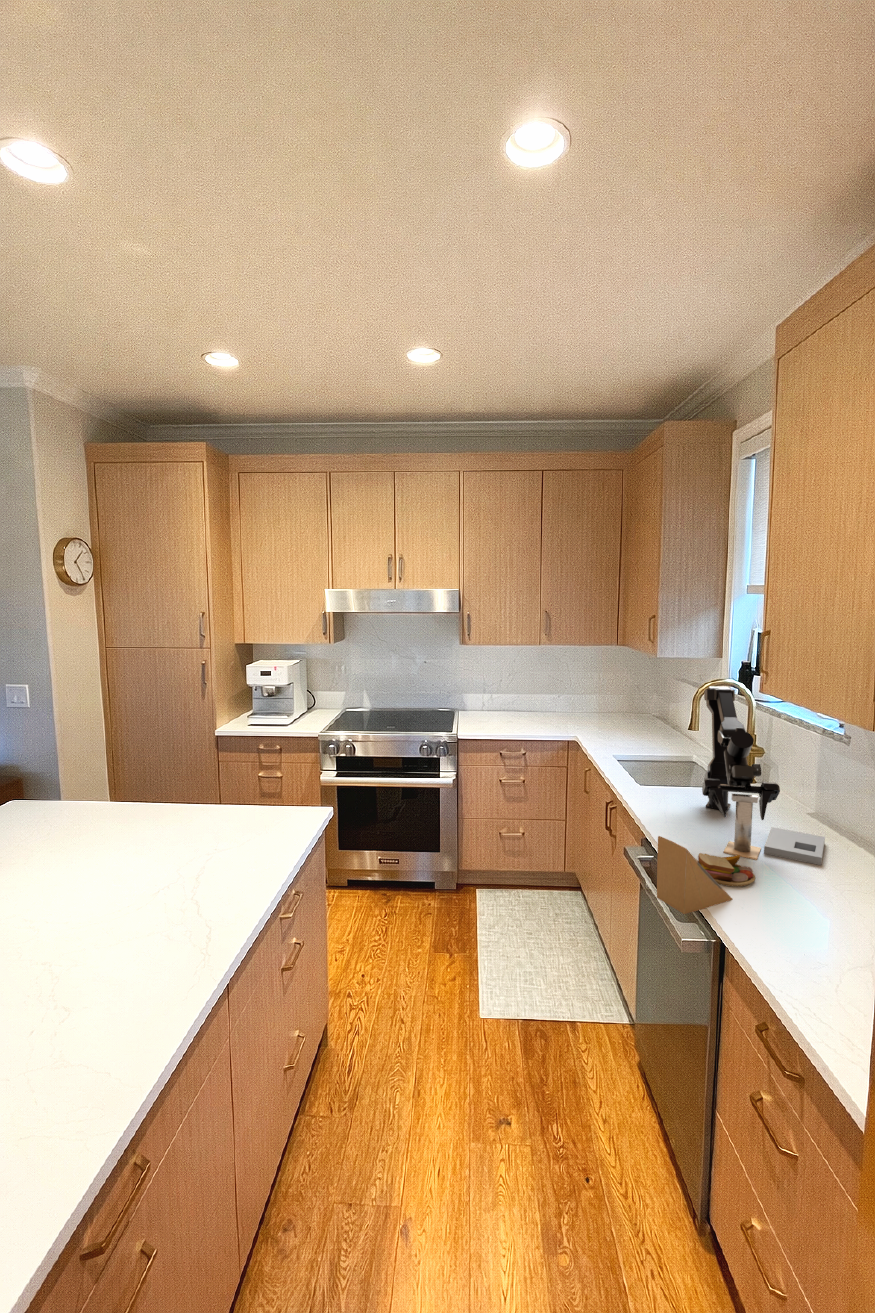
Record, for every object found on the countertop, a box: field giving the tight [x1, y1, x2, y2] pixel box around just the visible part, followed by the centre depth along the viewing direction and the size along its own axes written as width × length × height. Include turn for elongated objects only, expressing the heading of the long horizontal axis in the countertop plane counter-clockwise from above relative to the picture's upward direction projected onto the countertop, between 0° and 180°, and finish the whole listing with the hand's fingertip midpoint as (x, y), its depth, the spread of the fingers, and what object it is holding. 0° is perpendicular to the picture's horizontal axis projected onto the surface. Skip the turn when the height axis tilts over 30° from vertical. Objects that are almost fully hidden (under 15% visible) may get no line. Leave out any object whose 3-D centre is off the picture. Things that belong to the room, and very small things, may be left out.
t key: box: [731, 793, 759, 852], centre depth 164 cm, size 4×6×15 cm, turn 75°
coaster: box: [723, 840, 762, 861], centre depth 164 cm, size 8×8×1 cm
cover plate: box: [763, 826, 826, 866], centre depth 166 cm, size 16×13×2 cm
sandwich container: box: [656, 835, 733, 915], centre depth 139 cm, size 9×15×15 cm, turn 114°
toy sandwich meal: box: [697, 852, 756, 888], centre depth 150 cm, size 12×14×5 cm
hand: (743, 818), depth 163 cm, fingers open, 9 cm apart
